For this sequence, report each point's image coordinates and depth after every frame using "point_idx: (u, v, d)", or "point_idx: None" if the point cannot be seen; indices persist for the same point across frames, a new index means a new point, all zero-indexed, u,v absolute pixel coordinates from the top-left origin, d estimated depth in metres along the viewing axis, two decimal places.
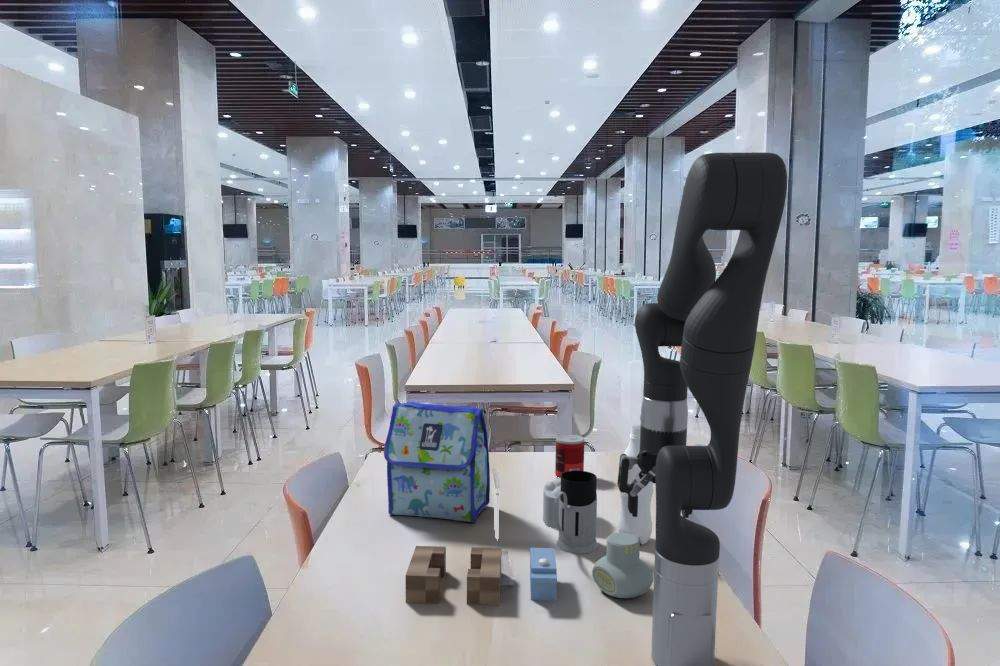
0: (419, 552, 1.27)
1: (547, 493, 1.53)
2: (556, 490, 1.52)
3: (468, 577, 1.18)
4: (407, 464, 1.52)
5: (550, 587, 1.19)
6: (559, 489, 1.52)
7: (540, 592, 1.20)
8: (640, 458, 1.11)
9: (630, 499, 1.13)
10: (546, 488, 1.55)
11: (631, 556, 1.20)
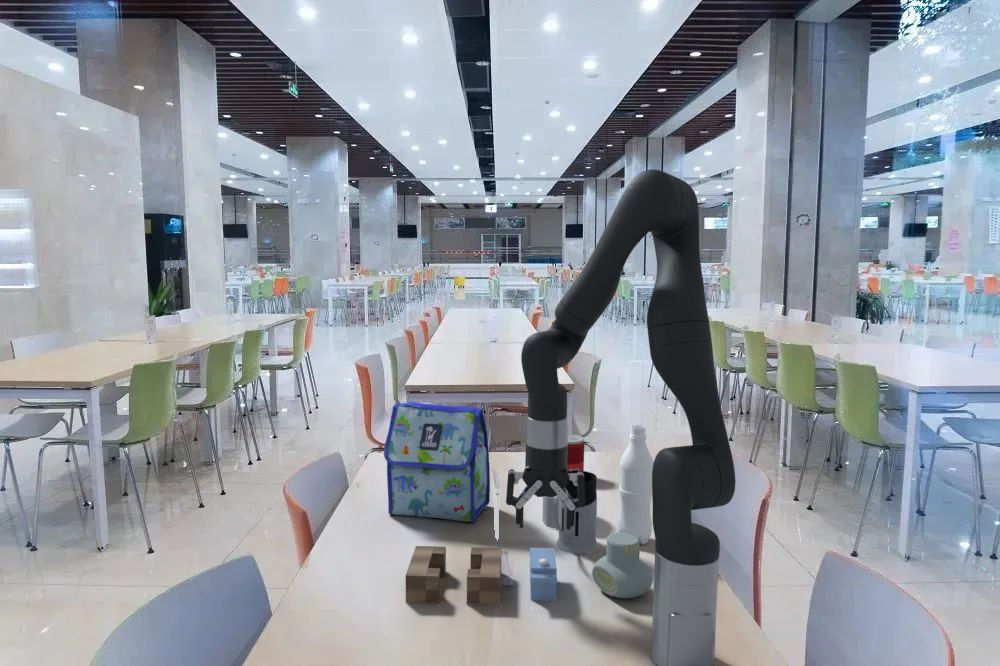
0: (419, 552, 1.27)
1: None
2: None
3: (468, 577, 1.18)
4: (407, 464, 1.52)
5: (550, 587, 1.19)
6: None
7: (540, 592, 1.20)
8: (525, 473, 1.21)
9: (516, 511, 1.22)
10: None
11: (631, 556, 1.20)
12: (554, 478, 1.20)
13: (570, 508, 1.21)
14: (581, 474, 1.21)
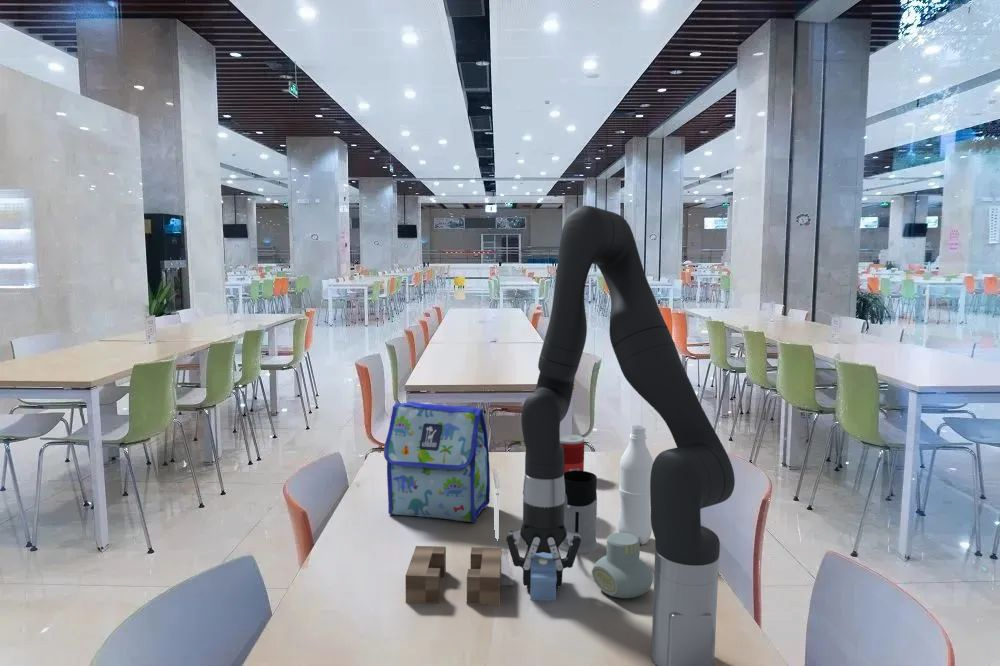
0: (419, 552, 1.27)
1: None
2: None
3: (468, 577, 1.18)
4: (407, 464, 1.52)
5: (550, 587, 1.19)
6: None
7: (540, 592, 1.20)
8: (521, 531, 1.22)
9: (524, 572, 1.23)
10: None
11: (631, 556, 1.20)
12: (553, 535, 1.21)
13: (558, 568, 1.22)
14: (578, 536, 1.22)
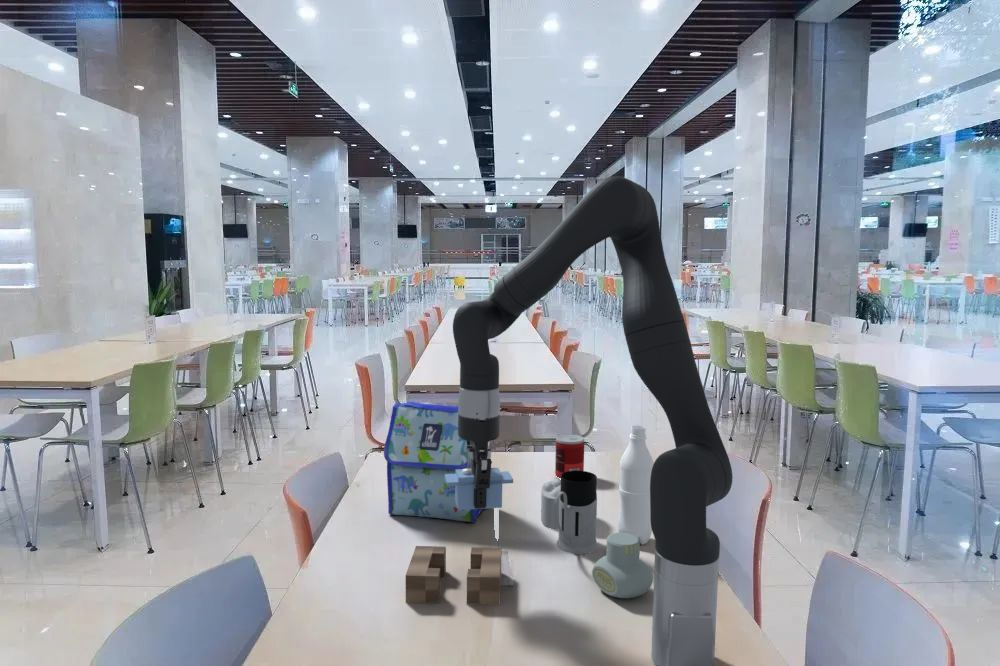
0: (419, 552, 1.27)
1: (545, 494, 1.52)
2: (554, 491, 1.52)
3: (468, 577, 1.18)
4: (407, 464, 1.52)
5: (457, 494, 1.21)
6: (557, 490, 1.52)
7: (456, 496, 1.23)
8: None
9: None
10: (544, 489, 1.55)
11: (631, 556, 1.20)
12: (473, 450, 1.20)
13: None
14: (481, 460, 1.16)
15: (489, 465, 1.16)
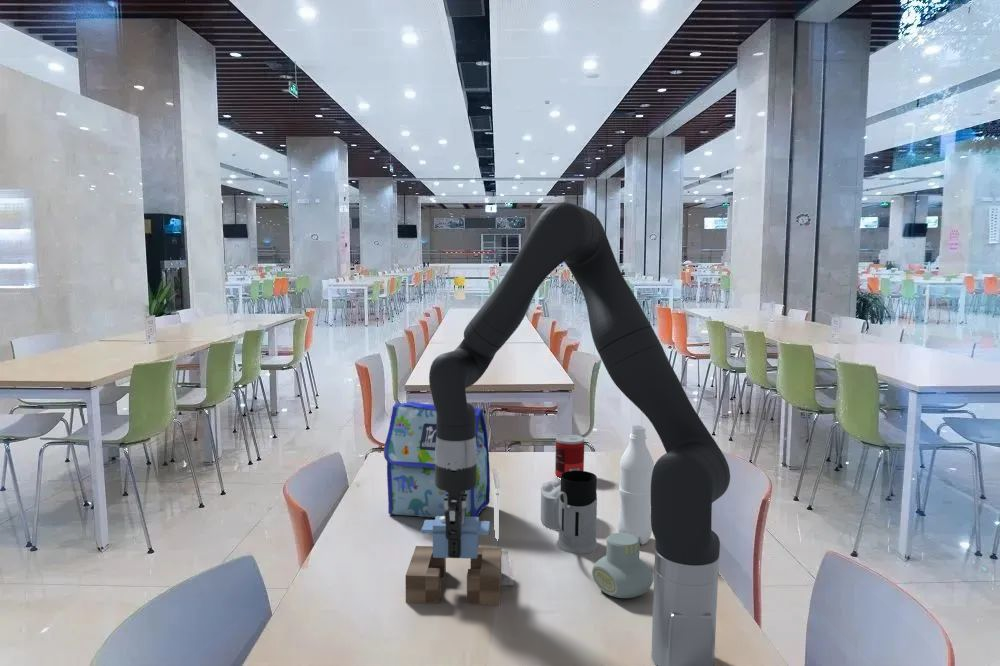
0: (419, 552, 1.27)
1: (545, 494, 1.52)
2: (554, 491, 1.51)
3: (468, 577, 1.18)
4: (407, 464, 1.52)
5: None
6: (557, 490, 1.52)
7: None
8: None
9: None
10: (544, 489, 1.54)
11: (631, 556, 1.20)
12: None
13: None
14: (449, 511, 1.16)
15: (457, 517, 1.16)
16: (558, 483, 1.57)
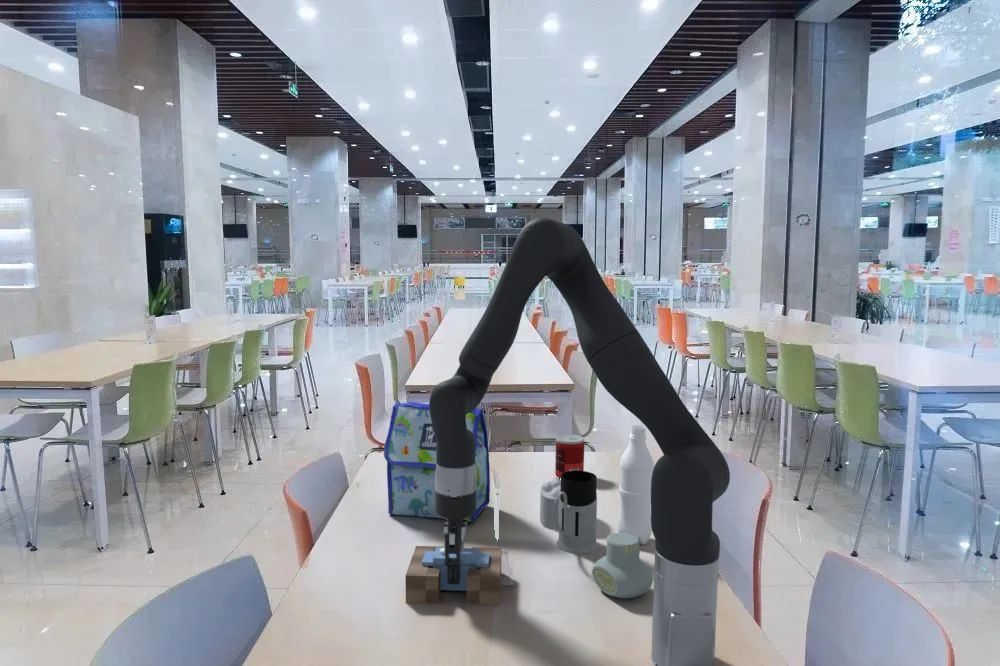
0: (419, 552, 1.27)
1: (545, 494, 1.52)
2: (554, 491, 1.51)
3: (468, 577, 1.18)
4: (407, 464, 1.52)
5: None
6: (557, 490, 1.51)
7: None
8: None
9: None
10: (543, 489, 1.54)
11: (631, 556, 1.20)
12: None
13: None
14: (449, 533, 1.16)
15: (457, 539, 1.16)
16: (557, 483, 1.57)
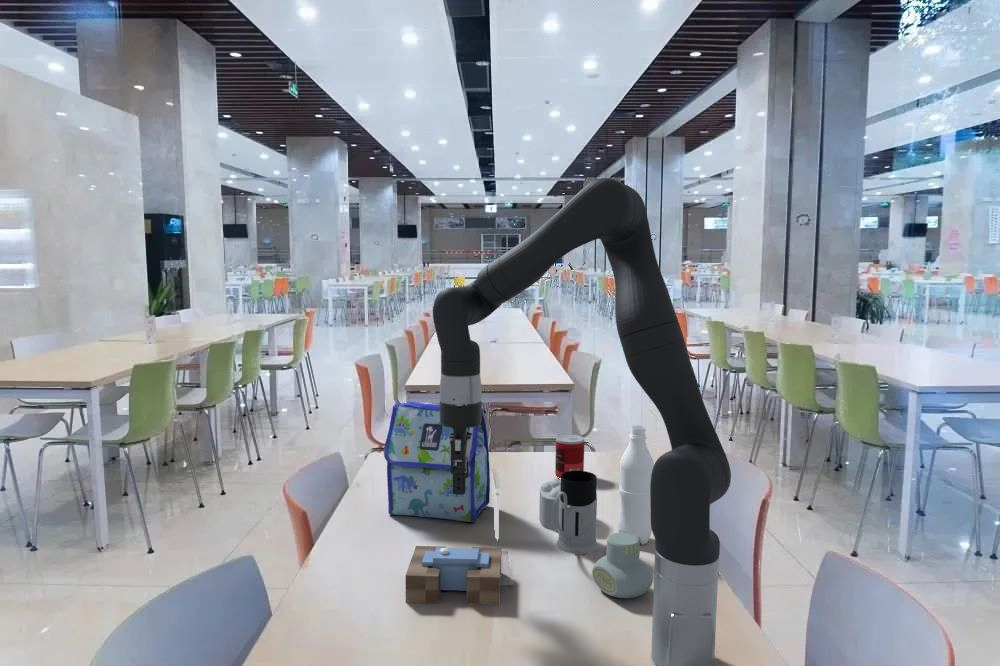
0: (419, 552, 1.27)
1: (544, 494, 1.52)
2: (553, 491, 1.51)
3: (468, 577, 1.18)
4: (407, 464, 1.52)
5: None
6: (556, 490, 1.51)
7: None
8: None
9: None
10: (542, 489, 1.54)
11: (631, 556, 1.20)
12: None
13: None
14: (454, 439, 1.15)
15: (463, 444, 1.15)
16: (557, 483, 1.56)
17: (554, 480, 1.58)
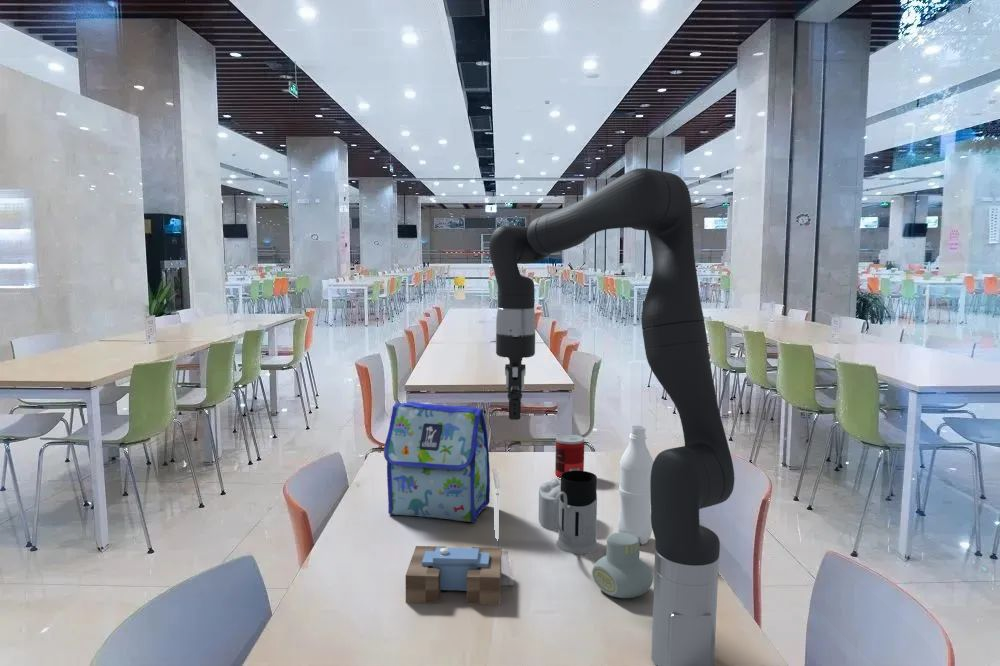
0: (419, 552, 1.27)
1: (543, 495, 1.52)
2: (553, 491, 1.51)
3: (468, 577, 1.18)
4: (407, 464, 1.52)
5: None
6: (556, 490, 1.51)
7: None
8: None
9: None
10: (542, 490, 1.54)
11: (631, 556, 1.20)
12: (509, 365, 1.29)
13: None
14: (512, 366, 1.24)
15: (520, 371, 1.23)
16: (556, 484, 1.56)
17: (553, 480, 1.57)
